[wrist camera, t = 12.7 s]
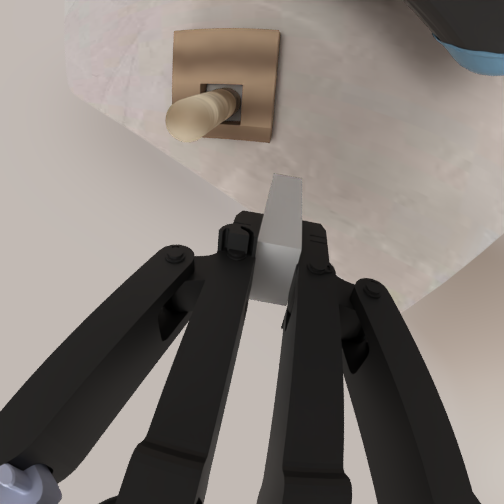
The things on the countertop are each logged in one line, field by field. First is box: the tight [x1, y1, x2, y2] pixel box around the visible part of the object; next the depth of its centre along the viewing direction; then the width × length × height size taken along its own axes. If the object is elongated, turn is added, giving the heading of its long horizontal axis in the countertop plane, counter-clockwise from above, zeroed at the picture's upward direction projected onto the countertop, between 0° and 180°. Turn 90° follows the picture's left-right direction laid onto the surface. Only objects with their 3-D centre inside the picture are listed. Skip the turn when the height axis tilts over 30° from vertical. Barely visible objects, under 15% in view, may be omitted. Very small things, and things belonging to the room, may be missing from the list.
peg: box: [166, 88, 241, 142], centre depth 32 cm, size 4×4×16 cm
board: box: [172, 28, 280, 143], centre depth 35 cm, size 16×14×3 cm
